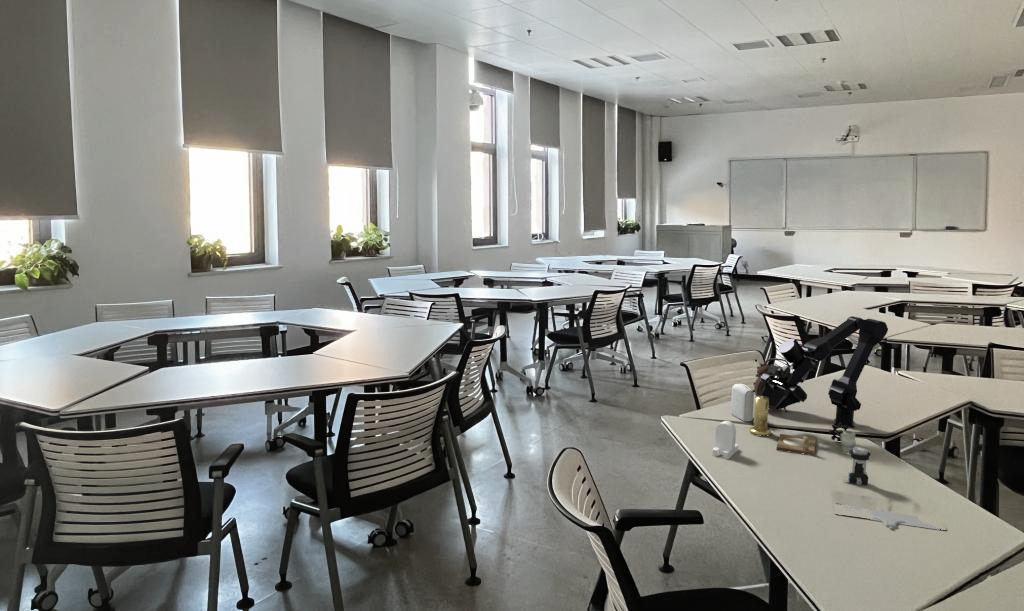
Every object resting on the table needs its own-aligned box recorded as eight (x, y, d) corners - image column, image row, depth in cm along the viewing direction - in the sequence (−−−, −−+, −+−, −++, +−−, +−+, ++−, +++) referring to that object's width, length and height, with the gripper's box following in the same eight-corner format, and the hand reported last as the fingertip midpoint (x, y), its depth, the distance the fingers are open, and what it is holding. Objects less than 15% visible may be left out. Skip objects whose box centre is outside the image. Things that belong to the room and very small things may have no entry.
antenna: (835, 522, 177) (835, 518, 176) (829, 488, 198) (830, 484, 198) (950, 540, 168) (951, 535, 168) (931, 502, 189) (932, 498, 189)
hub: (769, 437, 237) (772, 401, 235) (748, 434, 240) (750, 399, 238) (772, 429, 246) (774, 394, 244) (751, 426, 248) (753, 392, 247)
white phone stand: (711, 455, 221) (712, 424, 220) (722, 446, 229) (723, 416, 228) (728, 459, 218) (729, 427, 217) (738, 449, 226) (739, 419, 225)
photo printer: (728, 413, 263) (730, 381, 261) (739, 413, 264) (741, 380, 262) (743, 422, 253) (745, 388, 251) (754, 421, 254) (756, 388, 252)
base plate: (780, 436, 238) (780, 422, 238) (815, 441, 234) (816, 426, 233) (776, 450, 226) (777, 435, 225) (813, 455, 221) (814, 440, 220)
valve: (860, 455, 222) (849, 442, 233) (862, 435, 221) (850, 423, 232) (838, 454, 223) (828, 441, 234) (839, 433, 222) (829, 422, 233)
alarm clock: (755, 412, 265) (758, 360, 262) (752, 406, 272) (755, 355, 269) (796, 414, 262) (799, 361, 259) (792, 408, 269) (795, 357, 266)
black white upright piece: (844, 485, 198) (847, 451, 197) (840, 478, 204) (842, 444, 202) (870, 487, 197) (873, 453, 195) (865, 480, 202) (868, 446, 200)
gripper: (766, 350, 249) (737, 383, 247) (802, 362, 231) (771, 397, 230) (784, 371, 252) (755, 403, 251) (820, 384, 235) (790, 419, 233)
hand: (767, 405), depth 241 cm, fingers open, 9 cm apart
